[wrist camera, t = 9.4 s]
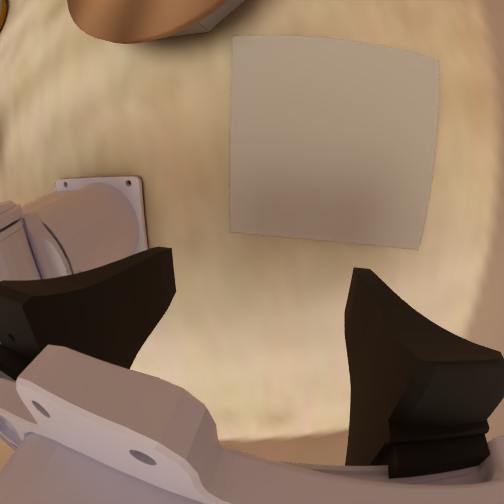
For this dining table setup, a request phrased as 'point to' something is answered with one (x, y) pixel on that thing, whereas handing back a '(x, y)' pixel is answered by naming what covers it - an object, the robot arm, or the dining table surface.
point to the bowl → (210, 19)
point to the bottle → (2, 12)
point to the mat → (331, 140)
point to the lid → (138, 17)
